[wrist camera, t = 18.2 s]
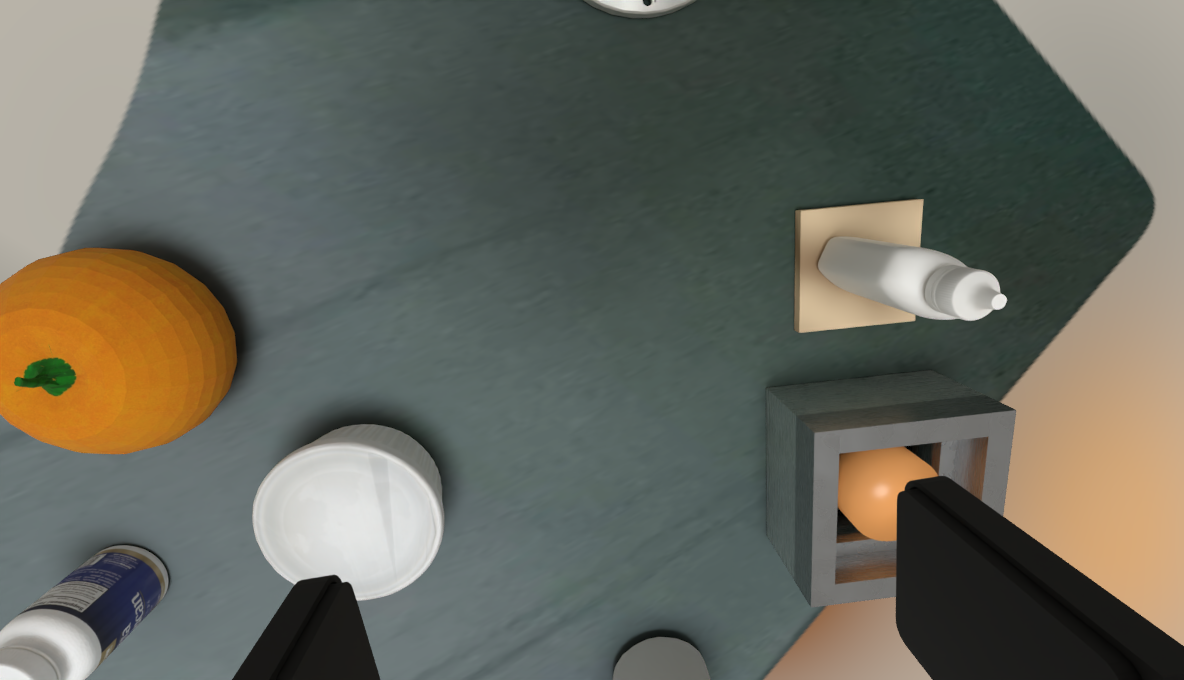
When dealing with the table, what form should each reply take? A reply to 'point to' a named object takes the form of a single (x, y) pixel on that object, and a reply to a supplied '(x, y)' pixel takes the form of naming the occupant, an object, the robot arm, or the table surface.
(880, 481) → the button
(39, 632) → the pill bottle
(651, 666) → the can
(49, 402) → the fruit
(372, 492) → the ramekin
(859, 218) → the coaster
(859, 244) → the eye dropper bottle
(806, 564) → the grey box
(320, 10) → the table surface
